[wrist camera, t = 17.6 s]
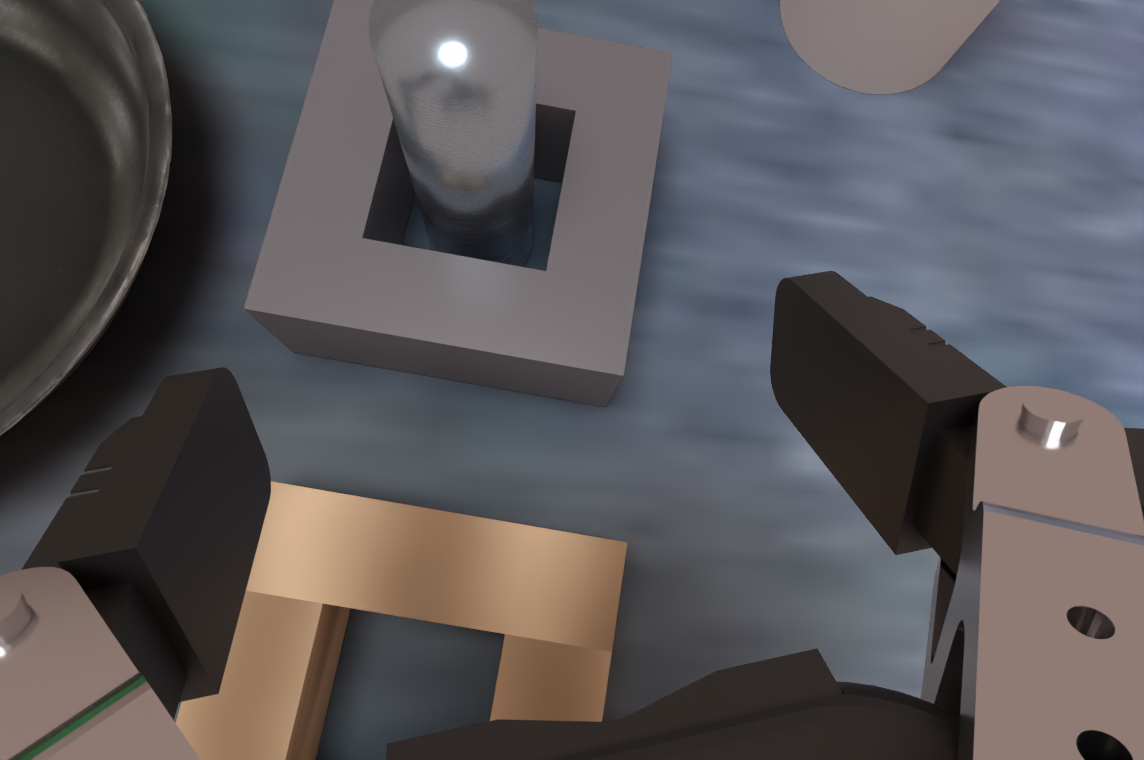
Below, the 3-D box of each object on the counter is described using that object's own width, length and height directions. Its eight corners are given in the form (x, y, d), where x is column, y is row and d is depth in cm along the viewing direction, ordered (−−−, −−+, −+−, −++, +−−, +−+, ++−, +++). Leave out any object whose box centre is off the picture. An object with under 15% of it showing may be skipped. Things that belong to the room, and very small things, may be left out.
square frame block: (188, 859, 23) (120, 921, 19) (285, 488, 26) (243, 476, 22) (556, 918, 23) (563, 990, 19) (611, 544, 26) (627, 542, 22)
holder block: (293, 352, 27) (243, 308, 22) (367, 80, 30) (337, -11, 25) (606, 407, 27) (623, 375, 23) (648, 133, 30) (672, 53, 26)
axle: (421, 277, 28) (350, 82, 17) (442, 186, 29) (389, -59, 18) (522, 295, 28) (521, 113, 17) (539, 203, 29) (550, -27, 18)
